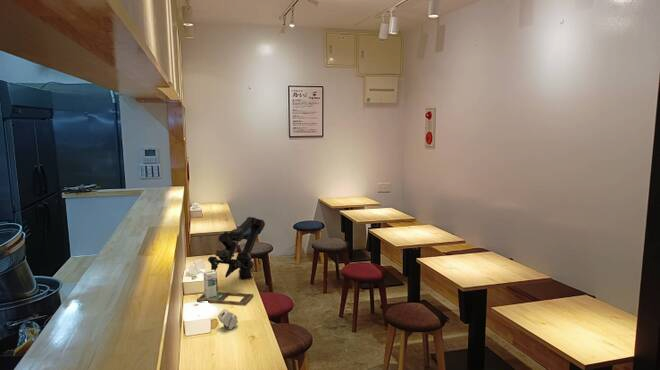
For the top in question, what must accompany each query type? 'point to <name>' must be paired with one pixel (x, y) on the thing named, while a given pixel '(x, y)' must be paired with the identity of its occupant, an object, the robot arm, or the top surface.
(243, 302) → the brown rectangular tray
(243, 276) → the robot arm
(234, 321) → the grey lumpy piece
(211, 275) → the syrup box
